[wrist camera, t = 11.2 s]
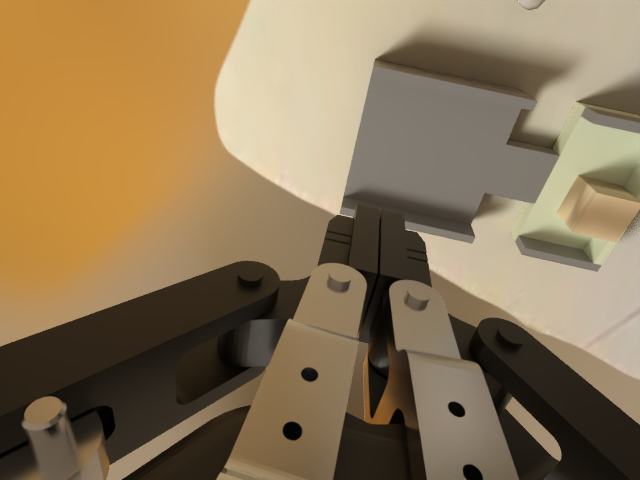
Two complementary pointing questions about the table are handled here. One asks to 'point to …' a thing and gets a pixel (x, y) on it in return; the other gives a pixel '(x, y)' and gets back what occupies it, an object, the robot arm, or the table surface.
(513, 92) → the trap box
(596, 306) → the table surface
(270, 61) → the table surface
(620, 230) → the birch block
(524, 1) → the bunny figurine
